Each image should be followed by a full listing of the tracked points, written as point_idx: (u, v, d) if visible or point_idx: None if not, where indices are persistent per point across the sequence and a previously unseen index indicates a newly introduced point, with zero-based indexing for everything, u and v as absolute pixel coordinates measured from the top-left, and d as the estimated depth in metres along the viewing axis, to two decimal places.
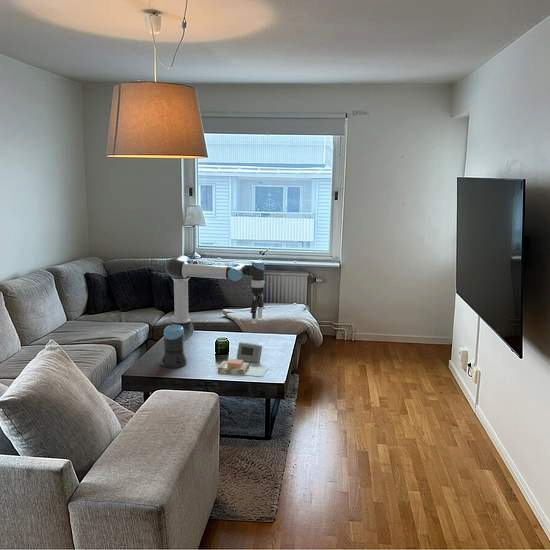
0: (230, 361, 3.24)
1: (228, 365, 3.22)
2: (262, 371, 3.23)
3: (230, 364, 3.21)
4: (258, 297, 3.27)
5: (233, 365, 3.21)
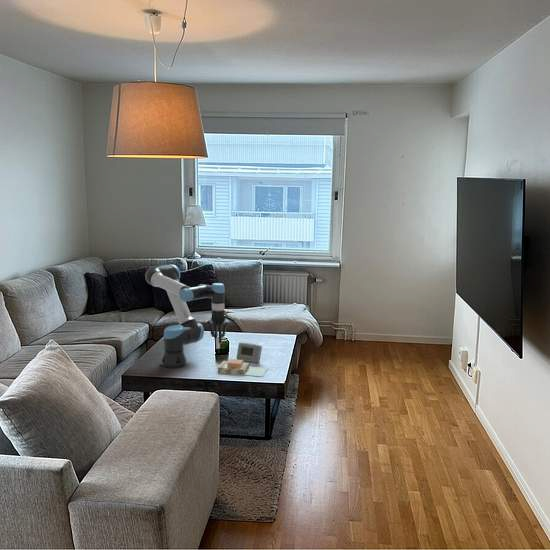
0: (230, 361, 3.24)
1: (228, 365, 3.22)
2: (262, 371, 3.23)
3: (230, 364, 3.21)
4: None
5: (233, 365, 3.21)
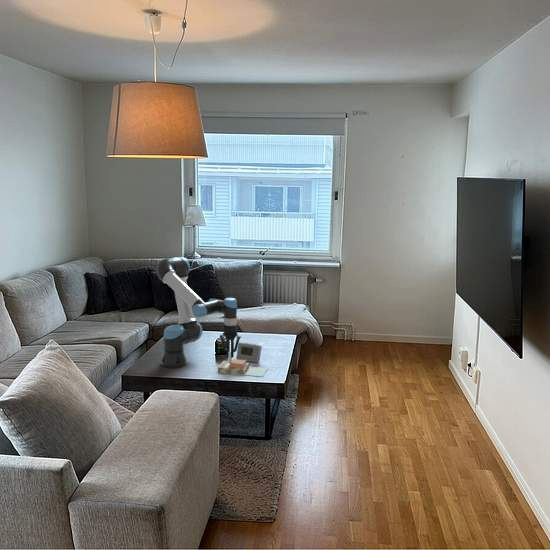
0: (232, 361, 3.23)
1: (230, 366, 3.21)
2: (262, 371, 3.23)
3: (232, 364, 3.21)
4: None
5: (235, 365, 3.21)
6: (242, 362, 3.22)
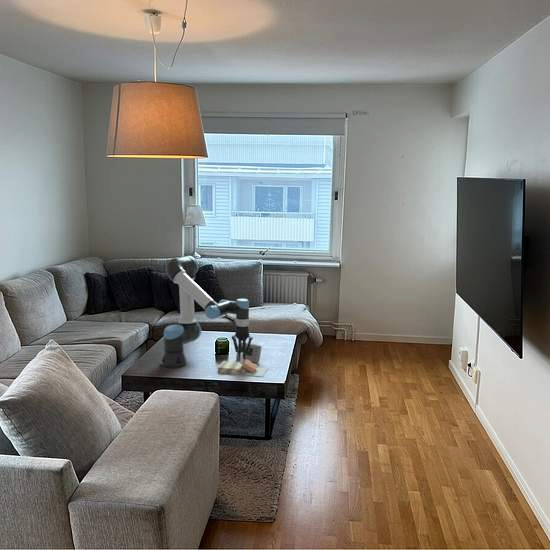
0: (246, 362, 3.22)
1: (242, 365, 3.20)
2: (262, 371, 3.23)
3: (245, 365, 3.20)
4: None
5: (248, 367, 3.20)
6: (254, 367, 3.21)
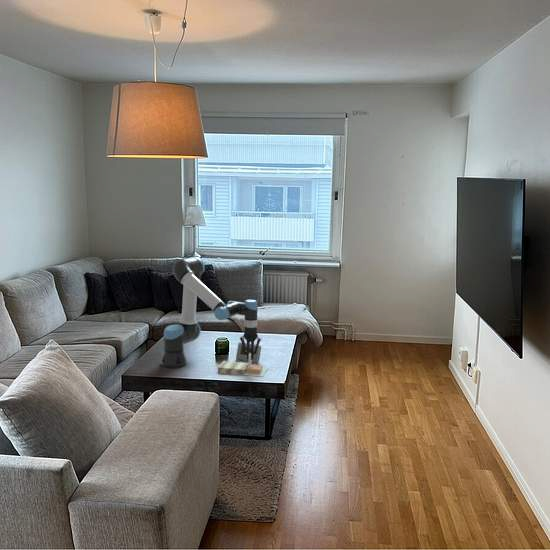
0: (249, 367, 3.22)
1: (247, 371, 3.20)
2: (262, 371, 3.23)
3: (249, 370, 3.20)
4: (246, 337, 3.19)
5: (252, 371, 3.19)
6: (259, 368, 3.21)
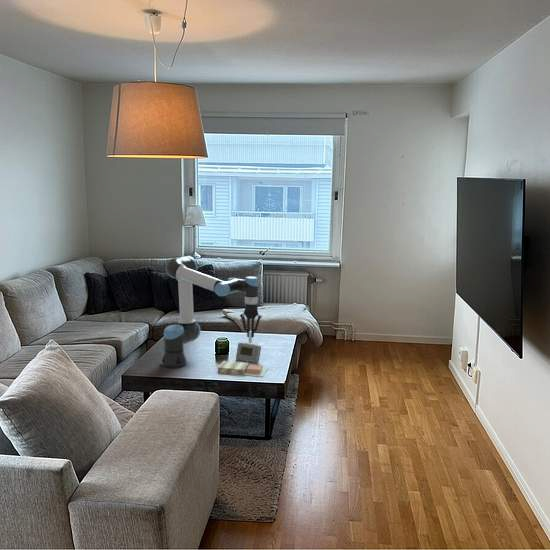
0: (249, 367, 3.22)
1: (247, 371, 3.20)
2: (262, 371, 3.23)
3: (249, 370, 3.20)
4: None
5: (252, 371, 3.19)
6: (259, 368, 3.21)
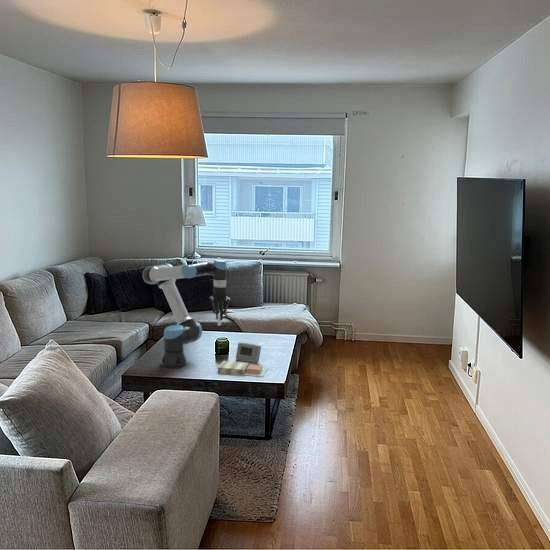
0: (249, 367, 3.22)
1: (247, 371, 3.20)
2: (262, 371, 3.23)
3: (249, 370, 3.20)
4: (215, 297, 3.22)
5: (252, 371, 3.19)
6: (259, 368, 3.21)
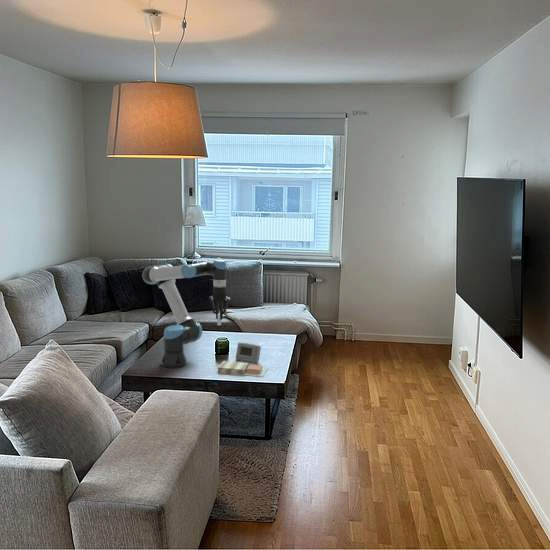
0: (249, 367, 3.22)
1: (247, 371, 3.20)
2: (262, 371, 3.23)
3: (249, 370, 3.20)
4: (215, 297, 3.22)
5: (252, 371, 3.19)
6: (259, 368, 3.21)
